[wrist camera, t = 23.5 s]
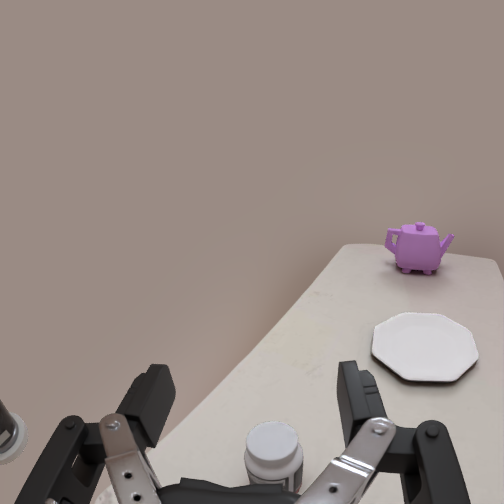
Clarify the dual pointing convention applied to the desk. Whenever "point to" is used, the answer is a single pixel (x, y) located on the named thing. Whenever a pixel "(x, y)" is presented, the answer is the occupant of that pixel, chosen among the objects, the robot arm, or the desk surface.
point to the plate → (424, 347)
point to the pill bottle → (274, 456)
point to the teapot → (417, 247)
